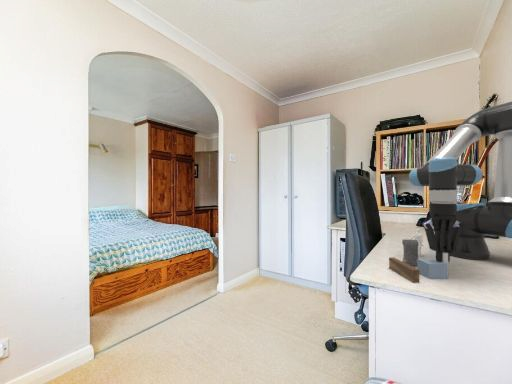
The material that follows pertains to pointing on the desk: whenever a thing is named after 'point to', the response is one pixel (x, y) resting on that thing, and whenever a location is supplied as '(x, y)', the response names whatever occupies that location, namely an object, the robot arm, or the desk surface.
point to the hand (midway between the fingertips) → (442, 270)
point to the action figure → (419, 239)
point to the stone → (410, 252)
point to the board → (404, 269)
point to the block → (432, 268)
